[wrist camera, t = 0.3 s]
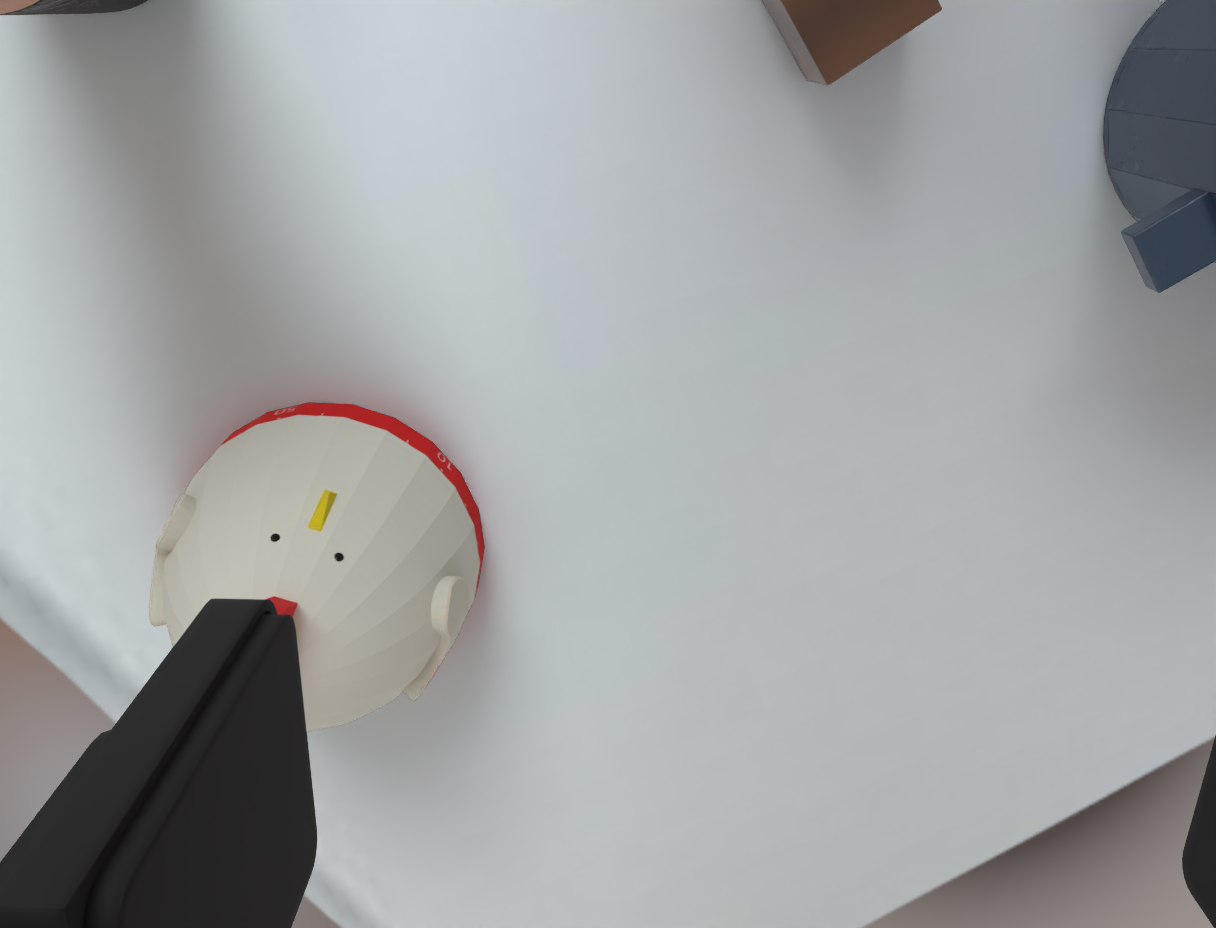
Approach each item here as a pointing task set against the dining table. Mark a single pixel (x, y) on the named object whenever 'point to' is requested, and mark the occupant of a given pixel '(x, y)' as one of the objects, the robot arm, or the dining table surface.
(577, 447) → the dining table surface
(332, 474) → the kitchen timer
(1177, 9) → the pot
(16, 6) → the travel mug
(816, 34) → the block
